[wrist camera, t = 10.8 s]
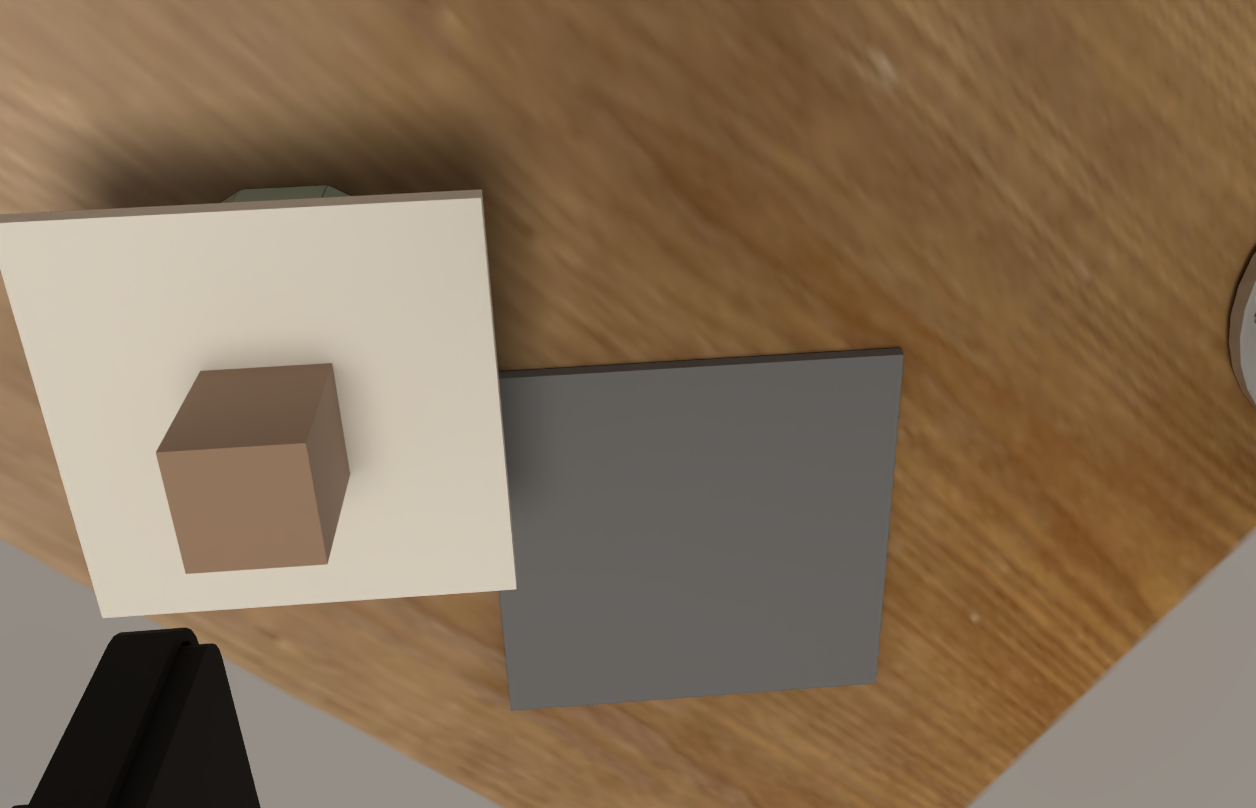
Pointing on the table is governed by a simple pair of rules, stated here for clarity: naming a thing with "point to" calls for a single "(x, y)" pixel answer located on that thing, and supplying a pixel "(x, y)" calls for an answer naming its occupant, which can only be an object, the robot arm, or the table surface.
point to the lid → (270, 397)
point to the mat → (698, 525)
